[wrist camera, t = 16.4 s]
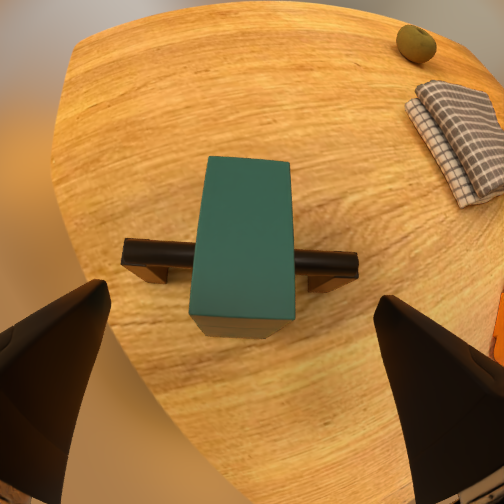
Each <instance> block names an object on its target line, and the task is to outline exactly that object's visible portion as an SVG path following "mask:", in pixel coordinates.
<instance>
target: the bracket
mask: <svg viewBox="0 0 504 504" xmlns="http://www.w3.org/2000/svg"><path fill="white" fill-rule="evenodd" d="M493 336H494V337H495V338H496V339H497V340H496V344H495V348H494V358H495V360H496V361H498V362H499V363H500V364H501V365H502V366H503V367H504V293H501V299H500V305H499V310H498V315H497V320H496V324H495V329H494V333H493Z"/></svg>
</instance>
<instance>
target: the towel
mask: <svg viewBox="0 0 504 504" xmlns="http://www.w3.org/2000/svg"><path fill="white" fill-rule="evenodd" d="M415 93H416V95H417V97H418V98H415V99H411V100H409V102H407V103H405V111H406V112H407V114H408V115H409V118H410V119H411V121H412V122H413V124H414V126H415V128H416V129H417V130H418V132H419V134H420V135H421V136H422V138H423V140H424V142H425V143H426V144H427V146H428V148H429V150H430V151H431V153H432V155H433V157H434V158H435V159H436V162H437V163H438V165H439V167H440V168H441V171H442V172H443V174H444V176H445V178H446V180H447V182H448V183H449V186H450V188H451V190H452V192H453V195H454V197H455V199H456V200H457V202H458V205H459V207H460V208H461V209H463V208H464V207H465V206H467V205H470V204H471V205H474V204H481V203H486V202H487V201H489V200H491V199H492V198H493V197H495V196H499V195H502V194H503V193H504V131H503V130H502V129H501V127H500V125H499V123H498V122H497V118H496V115H495V111H494V108H493V106H492V103H491V101H490V100H489V96H488V95H487V93H485V92H483V91H477V90H473V89H470V88H466V87H464V86H461V85H457V84H450V83H447V82H444V81H436V80H431V81H430V82H426V83H425V84H420V85H418V86H417V88H416V89H415Z"/></svg>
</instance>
